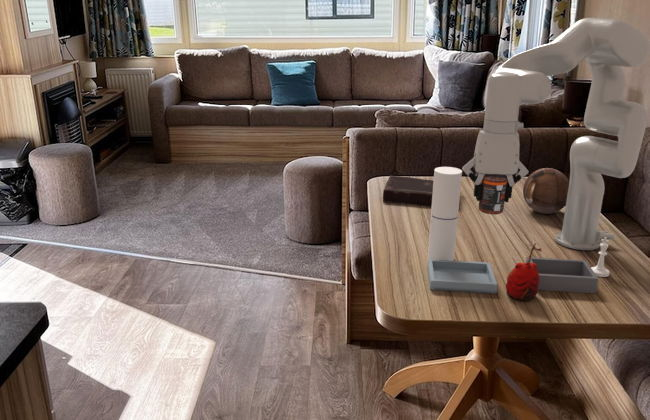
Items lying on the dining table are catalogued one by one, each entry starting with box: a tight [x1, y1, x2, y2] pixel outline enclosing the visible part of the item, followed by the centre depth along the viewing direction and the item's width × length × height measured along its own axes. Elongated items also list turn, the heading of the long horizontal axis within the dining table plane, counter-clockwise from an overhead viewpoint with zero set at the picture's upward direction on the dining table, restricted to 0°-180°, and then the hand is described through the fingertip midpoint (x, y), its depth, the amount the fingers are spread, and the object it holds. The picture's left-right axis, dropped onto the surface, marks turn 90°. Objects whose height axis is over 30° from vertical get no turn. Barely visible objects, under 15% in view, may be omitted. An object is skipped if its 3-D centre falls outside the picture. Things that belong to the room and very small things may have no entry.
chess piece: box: [590, 237, 610, 278], centre depth 165 cm, size 5×5×10 cm
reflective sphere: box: [522, 167, 570, 215], centre depth 209 cm, size 15×15×15 cm
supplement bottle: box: [478, 174, 507, 216], centre depth 153 cm, size 6×6×11 cm
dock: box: [525, 256, 599, 294], centre depth 161 cm, size 15×11×4 cm
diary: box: [382, 175, 434, 207], centre depth 224 cm, size 19×25×5 cm
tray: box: [427, 258, 498, 295], centre depth 161 cm, size 16×13×2 cm
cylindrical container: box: [427, 166, 463, 261], centre depth 170 cm, size 7×7×25 cm
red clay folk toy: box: [505, 243, 542, 302], centre depth 151 cm, size 8×7×15 cm
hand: (491, 199), depth 154 cm, fingers closed on supplement bottle, 6 cm apart
